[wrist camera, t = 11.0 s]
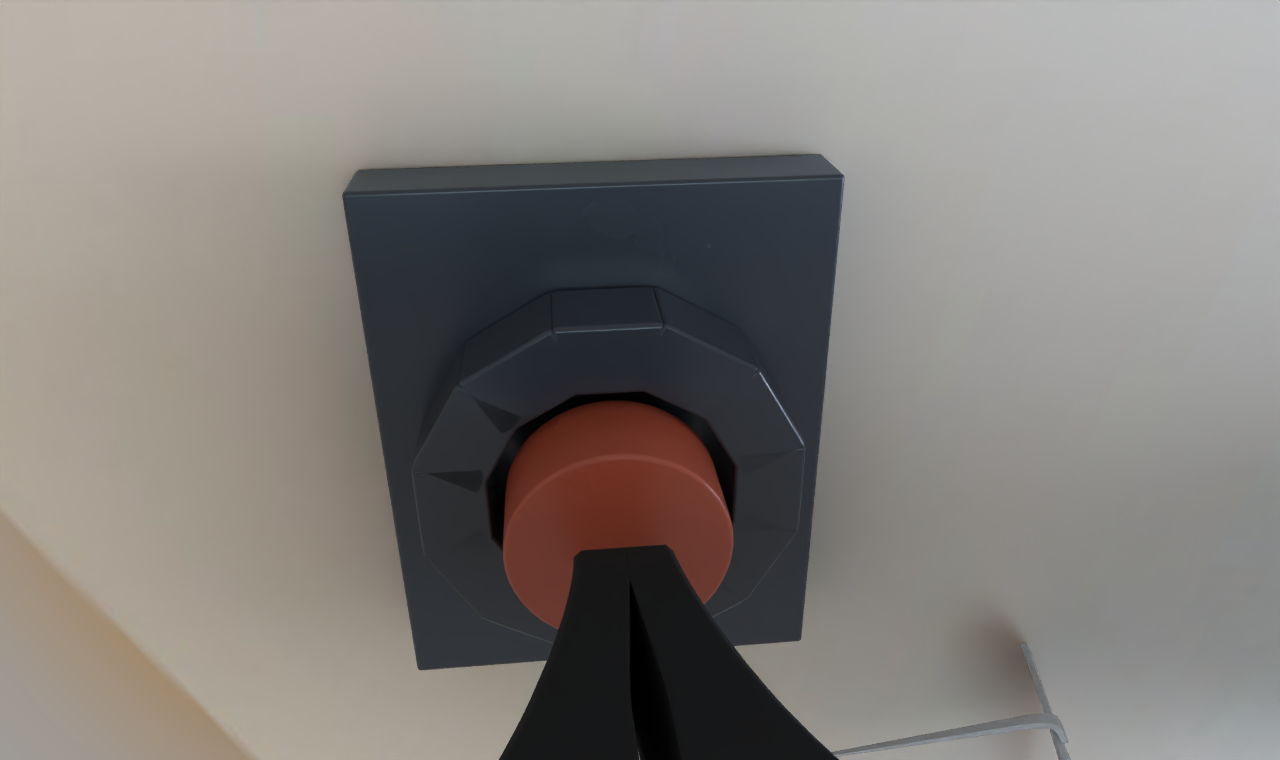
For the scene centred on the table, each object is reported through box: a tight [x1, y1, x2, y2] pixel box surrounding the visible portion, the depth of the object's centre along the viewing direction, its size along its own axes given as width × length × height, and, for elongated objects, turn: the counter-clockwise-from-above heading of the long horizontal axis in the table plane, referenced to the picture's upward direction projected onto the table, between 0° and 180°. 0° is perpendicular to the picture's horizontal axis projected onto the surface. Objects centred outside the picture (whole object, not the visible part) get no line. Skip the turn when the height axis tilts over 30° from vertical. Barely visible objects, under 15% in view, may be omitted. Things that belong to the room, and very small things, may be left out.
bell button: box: [503, 400, 733, 629], centre depth 15 cm, size 4×4×2 cm
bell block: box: [342, 155, 844, 670], centre depth 17 cm, size 10×8×3 cm
